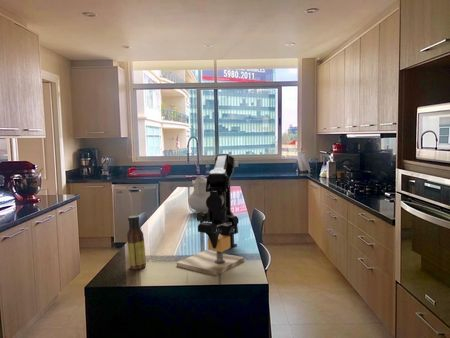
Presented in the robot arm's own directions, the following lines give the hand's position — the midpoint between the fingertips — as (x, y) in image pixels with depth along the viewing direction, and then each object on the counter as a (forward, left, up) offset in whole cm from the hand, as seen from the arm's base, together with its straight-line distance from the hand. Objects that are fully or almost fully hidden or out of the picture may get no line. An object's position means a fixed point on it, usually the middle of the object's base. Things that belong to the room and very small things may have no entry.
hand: (219, 246), depth 139 cm
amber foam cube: (0, 0, -1) cm, 1 cm away
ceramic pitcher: (-74, -68, -8) cm, 101 cm away
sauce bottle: (+18, -26, -8) cm, 33 cm away
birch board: (0, -4, -8) cm, 9 cm away
